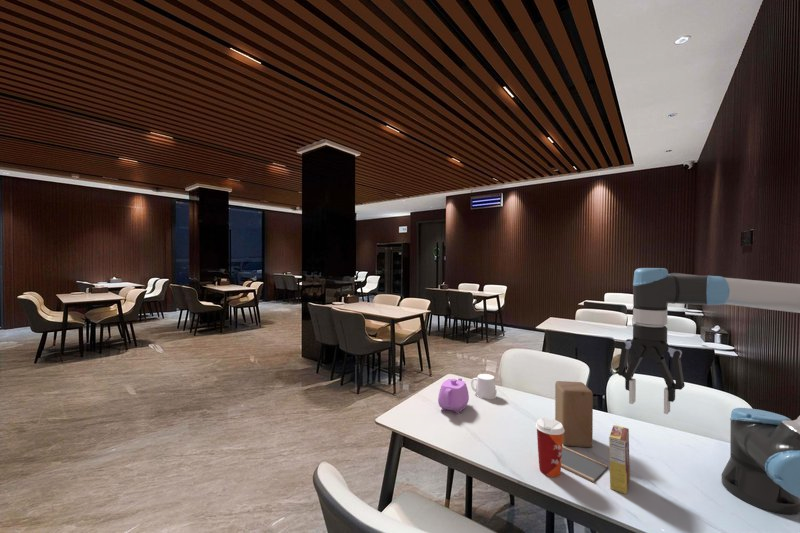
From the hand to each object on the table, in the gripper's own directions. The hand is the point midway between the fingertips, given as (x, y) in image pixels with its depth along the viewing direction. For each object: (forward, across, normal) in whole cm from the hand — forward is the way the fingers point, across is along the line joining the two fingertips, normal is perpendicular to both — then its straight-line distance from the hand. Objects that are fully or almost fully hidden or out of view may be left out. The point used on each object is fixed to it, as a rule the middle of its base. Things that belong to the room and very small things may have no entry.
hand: (649, 407), depth 92 cm
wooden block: (+25, +26, -14) cm, 39 cm away
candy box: (+25, +7, 0) cm, 26 cm away
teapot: (+25, +72, 0) cm, 76 cm away
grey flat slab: (+25, +20, 0) cm, 32 cm away
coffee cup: (+25, +23, +10) cm, 36 cm away
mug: (+25, +72, -21) cm, 79 cm away
